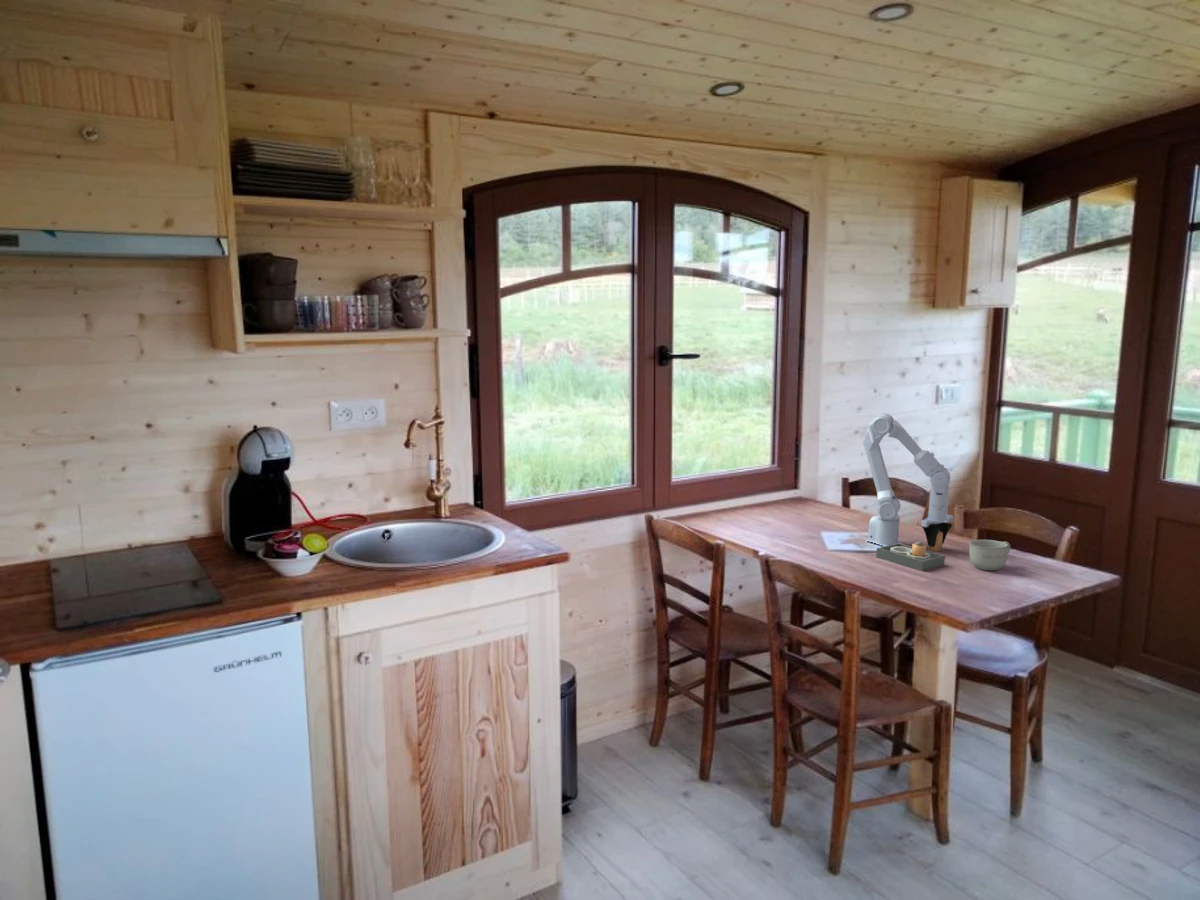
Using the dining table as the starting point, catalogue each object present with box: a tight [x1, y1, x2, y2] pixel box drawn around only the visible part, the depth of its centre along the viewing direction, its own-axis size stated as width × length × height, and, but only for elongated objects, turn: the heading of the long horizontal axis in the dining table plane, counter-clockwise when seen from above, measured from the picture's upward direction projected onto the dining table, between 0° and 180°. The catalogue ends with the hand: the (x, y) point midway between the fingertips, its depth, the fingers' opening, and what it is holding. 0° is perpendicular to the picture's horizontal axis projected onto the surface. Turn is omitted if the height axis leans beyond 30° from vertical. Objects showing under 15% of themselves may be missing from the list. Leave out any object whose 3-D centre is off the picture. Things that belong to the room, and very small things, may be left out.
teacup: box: [968, 539, 1011, 571], centre depth 255 cm, size 14×11×8 cm
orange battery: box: [928, 530, 943, 552], centre depth 274 cm, size 4×4×7 cm
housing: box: [875, 541, 946, 572], centre depth 261 cm, size 17×11×7 cm, turn 33°
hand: (935, 545), depth 274 cm, fingers closed on orange battery, 4 cm apart
